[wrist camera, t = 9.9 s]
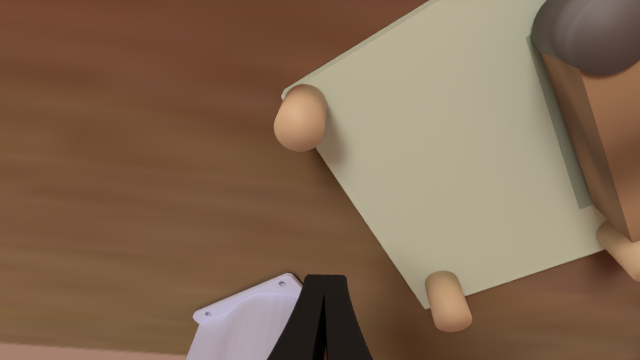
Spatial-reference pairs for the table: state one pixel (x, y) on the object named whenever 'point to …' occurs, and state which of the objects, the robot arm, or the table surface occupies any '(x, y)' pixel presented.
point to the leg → (599, 96)
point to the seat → (454, 151)
